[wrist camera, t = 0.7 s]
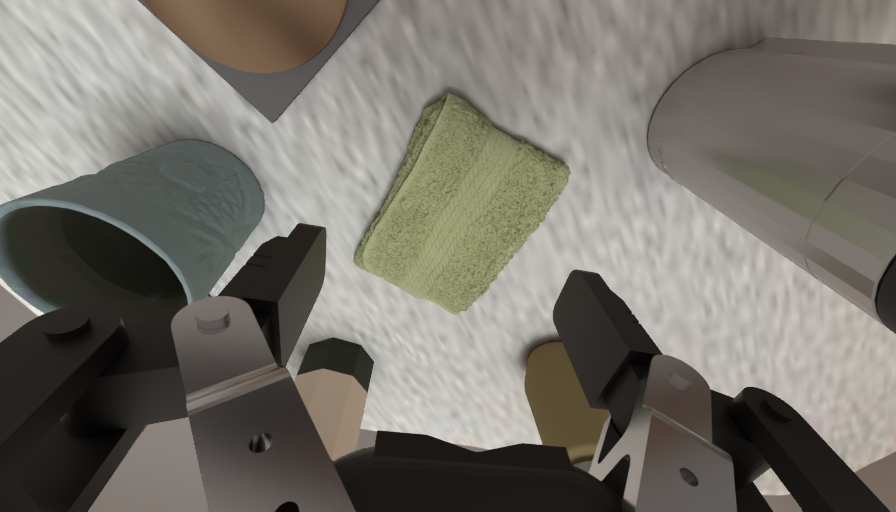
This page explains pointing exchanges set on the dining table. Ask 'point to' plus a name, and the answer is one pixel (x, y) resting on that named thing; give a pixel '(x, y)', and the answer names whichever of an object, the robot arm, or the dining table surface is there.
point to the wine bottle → (335, 392)
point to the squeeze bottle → (562, 405)
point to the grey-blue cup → (132, 232)
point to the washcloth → (459, 207)
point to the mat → (283, 87)
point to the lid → (253, 29)
